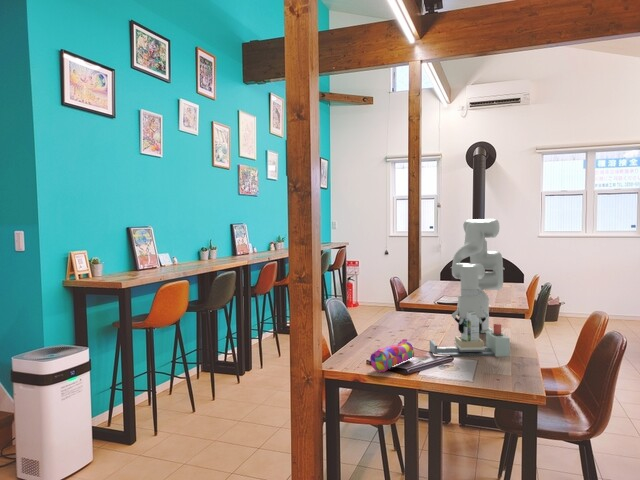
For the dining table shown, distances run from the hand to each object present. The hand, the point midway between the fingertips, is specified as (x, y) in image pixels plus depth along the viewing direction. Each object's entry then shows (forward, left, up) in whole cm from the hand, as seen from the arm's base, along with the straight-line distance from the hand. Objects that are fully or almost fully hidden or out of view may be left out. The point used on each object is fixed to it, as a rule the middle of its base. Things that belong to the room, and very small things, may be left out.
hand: (470, 332), depth 202 cm
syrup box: (0, 0, -5) cm, 5 cm away
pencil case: (+16, -37, -10) cm, 41 cm away
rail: (0, -4, -9) cm, 10 cm away
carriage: (0, -1, -8) cm, 8 cm away
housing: (0, +12, -9) cm, 15 cm away
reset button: (0, +12, -4) cm, 13 cm away
